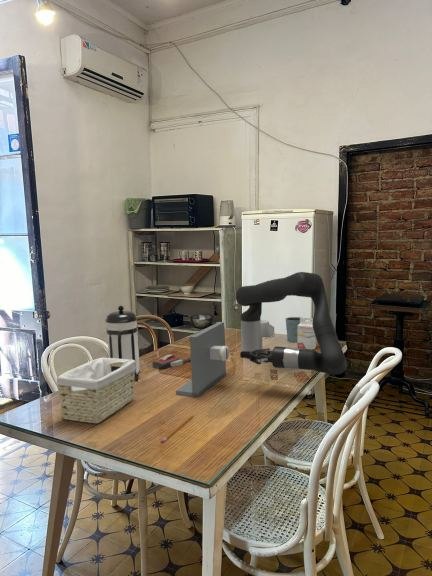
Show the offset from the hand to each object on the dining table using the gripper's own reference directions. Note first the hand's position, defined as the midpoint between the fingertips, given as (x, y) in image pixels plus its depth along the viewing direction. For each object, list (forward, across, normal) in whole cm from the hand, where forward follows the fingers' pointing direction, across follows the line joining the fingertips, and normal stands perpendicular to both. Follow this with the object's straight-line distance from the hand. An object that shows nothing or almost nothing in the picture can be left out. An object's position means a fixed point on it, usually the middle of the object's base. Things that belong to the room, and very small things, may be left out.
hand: (241, 354), depth 157 cm
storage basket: (+39, +33, +14) cm, 53 cm away
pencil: (+7, +37, +14) cm, 40 cm away
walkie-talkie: (+41, -20, +14) cm, 47 cm away
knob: (+9, 0, +3) cm, 9 cm away
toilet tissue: (+17, -80, +13) cm, 83 cm away
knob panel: (+14, 0, +13) cm, 19 cm away
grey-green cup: (-2, -76, +13) cm, 77 cm away
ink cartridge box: (-11, -64, +13) cm, 66 cm away
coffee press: (+50, +4, +13) cm, 51 cm away
